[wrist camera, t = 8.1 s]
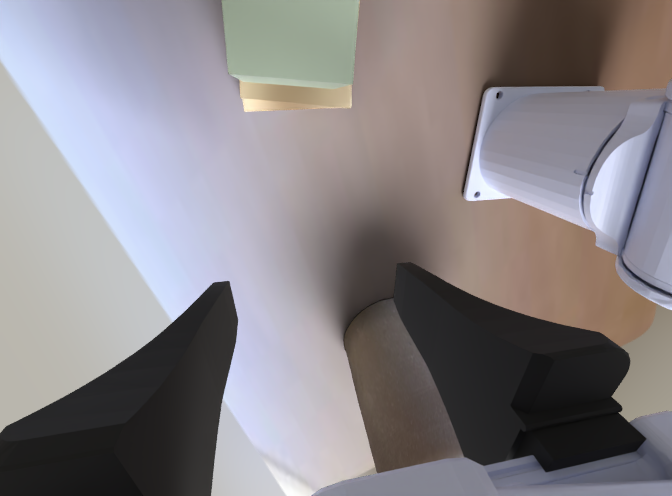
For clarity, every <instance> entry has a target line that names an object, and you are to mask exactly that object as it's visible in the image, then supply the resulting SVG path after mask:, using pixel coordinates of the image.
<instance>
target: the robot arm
mask: <svg viewBox="0 0 672 496" xmlns="http://www.w3.org/2000/svg"><path fill="white" fill-rule="evenodd" d="M498 92H499V97H498V98H496V94H497V93H498ZM476 192H477V195H476V196H474V194H475V193H476ZM463 197H464V199H466V200H468V201H476V200H489V199H503V198H514V199H516V200H519V201H521V202H523V203H526V204H528V205H531V206H533V207H535V208H538V209H540V210H543V211H545V212H548V213H550V214H552V215H555V216H557V217H560V218H562V219H565V220H567V221H569V222H572V223H574V224H577V225H579V226H581V227H584V228H586V229H589V230H591V231H594V232H595V234H596V246H598V247H600V248H602V249H604V250H607V251H609V252H611V253H613V254H615V255H617V258H616V263H615V267H616V271H617V273H618V275H619V276H620V278H621V279H622V280H623V281H624V282H625V283H626V284H627V285H628V286H629V287H630V288H632V289H633V290H634V291H636V292H637V293H639V294H640V295H642V296H644V297H645V298H647V299H649V300H651V301H653V302H655V303H657V304H659V305H661V306H663V307H665V308H667V309H670V310H672V79H671V80H670V81H669V82H668V85H667V88H666V89H639V90H612V91H604V88H603V87H602V86H558V87H491V88H488V89H487V90H486V91H485V92H484V95H483V99H482V104H481V109H480V114H479V119H478V124H477V129H476V134H475V139H474V144H473V149H472V154H471V159H470V164H469V169H468V174H467V179H466V184H465V189H464V194H463ZM393 301H394V303H395V306H396V309H397V311H398V314H399V316H400V319H401V321H402V322H403V324H404V326H405V328H406V330H407V331H408V333H409V335H410V337H411V338H412V340H413V342H414V344H415V345H416V347H417V349H418V351H419V352H420V354H421V356H422V358H423V359H424V361H425V363H426V365H427V367H428V369H429V371H430V373H431V375H432V378H433V380H434V382H435V385H436V387H437V389H438V391H439V394H440V396H441V399H442V401H443V403H444V406H445V408H446V411H447V413H448V416H449V418H450V421H451V423H452V426H453V429H454V431H455V434H456V437H457V439H458V442H459V444H460V447H461V450H462V453H463V456H464V458H448V459H442V460H438V461H433V462H428V463H424V464H419V465H414V466H410V467H405V468H400V469H396V470H391V471H386V472H382V473H377V474H373V475H368V476H363V477H358V478H354V479H349V480H344V481H341V482H338V483H335V484H333V485H330V486H327V487H324V488H321V489H320V490H318V491H317V492H316V493H314V494H313V495H312V496H672V412H671V411H664V412H659V413H655V414H650V415H645V416H641V417H638V418H635V419H634V420H632V421H631V422H628V421H627V420H626V419H625V418H623V417H622V416H621V415H620V414H619V413H618V412H621V411H622V406H621V405H620V404H619V403H617V401H615V400H614V399H613V398H612V397H611V396H612V395H613V393H614V392H615V390H616V389H617V388H618V386H619V385H620V383H621V382H622V380H623V378H624V377H625V376H626V374H627V372H628V370H629V366H630V358H629V354H628V353H627V352H626V351H625V350H624V349H622V348H621V347H619V346H618V345H617V344H615V343H614V342H613V341H611V340H610V339H609V338H607V337H606V336H604V335H603V334H601V333H600V332H595V331H590V330H585V329H580V328H575V327H570V326H565V325H561V324H557V323H553V322H549V321H545V320H541V319H537V318H534V317H531V316H527V315H524V314H521V313H518V312H515V311H512V310H509V309H506V308H503V307H500V306H497V305H495V304H492V303H490V302H487V301H485V300H482V299H480V298H478V297H476V296H473V295H471V294H469V293H467V292H465V291H463V290H461V289H459V288H457V287H455V286H453V285H451V284H449V283H447V282H445V281H444V280H442V279H440V278H438V277H437V276H435V275H433V274H431V273H429V272H428V271H426V270H424V269H422V268H421V267H419V266H417V265H415V264H413V263H411V262H408V263H398V264H397V270H396V280H395V290H394V300H393ZM237 326H238V317H237V313H236V309H235V304H234V300H233V295H232V291H231V287H230V282H229V281H224V282H215V283H213V284H212V285H211V286H210V287H209V288H208V289H207V290H206V291H205V292H204V293H203V294H202V295H201V296H200V297H199V298H198V299H197V300H196V301H195V302H194V303H193V304H192V305H191V306H190V307H189V308H188V309H187V310H186V311H185V312H184V313H183V314H182V315H180V316H179V317H178V318H177V319H176V320H175V321H174V322H173V323H172V324H170V325H169V326H168V327H167V328H166V329H165V330H164V331H163V332H161V333H160V334H159V335H158V336H157V337H155V338H154V339H153V340H152V341H150V342H149V343H148V344H146V345H145V346H144V347H142V348H141V349H140V350H138V351H137V352H136V353H134V354H133V355H131V356H130V357H128V358H127V359H125V360H124V361H122V362H121V363H119V364H118V365H116V366H115V367H113V368H112V369H110V370H109V371H107V372H106V373H104V374H103V375H101V376H99V377H98V378H96V379H94V380H93V381H91V382H89V383H88V384H86V385H84V386H82V387H81V388H79V389H77V390H75V391H74V392H72V393H70V394H69V395H66V396H65V397H63V398H61V399H59V400H57V401H56V402H53V403H52V404H50V405H48V406H46V407H44V408H42V409H40V410H38V411H36V412H34V413H32V414H30V415H28V416H26V417H24V418H22V419H20V420H18V421H16V422H14V423H12V424H10V425H8V426H6V427H5V428H4V429H3V431H2V432H1V433H0V496H211V489H212V479H213V469H214V459H215V450H216V441H217V434H218V425H219V418H220V411H221V403H222V399H223V394H224V389H225V385H226V381H227V377H228V373H229V369H230V365H231V360H232V356H233V352H234V348H235V343H236V336H237Z"/></svg>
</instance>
